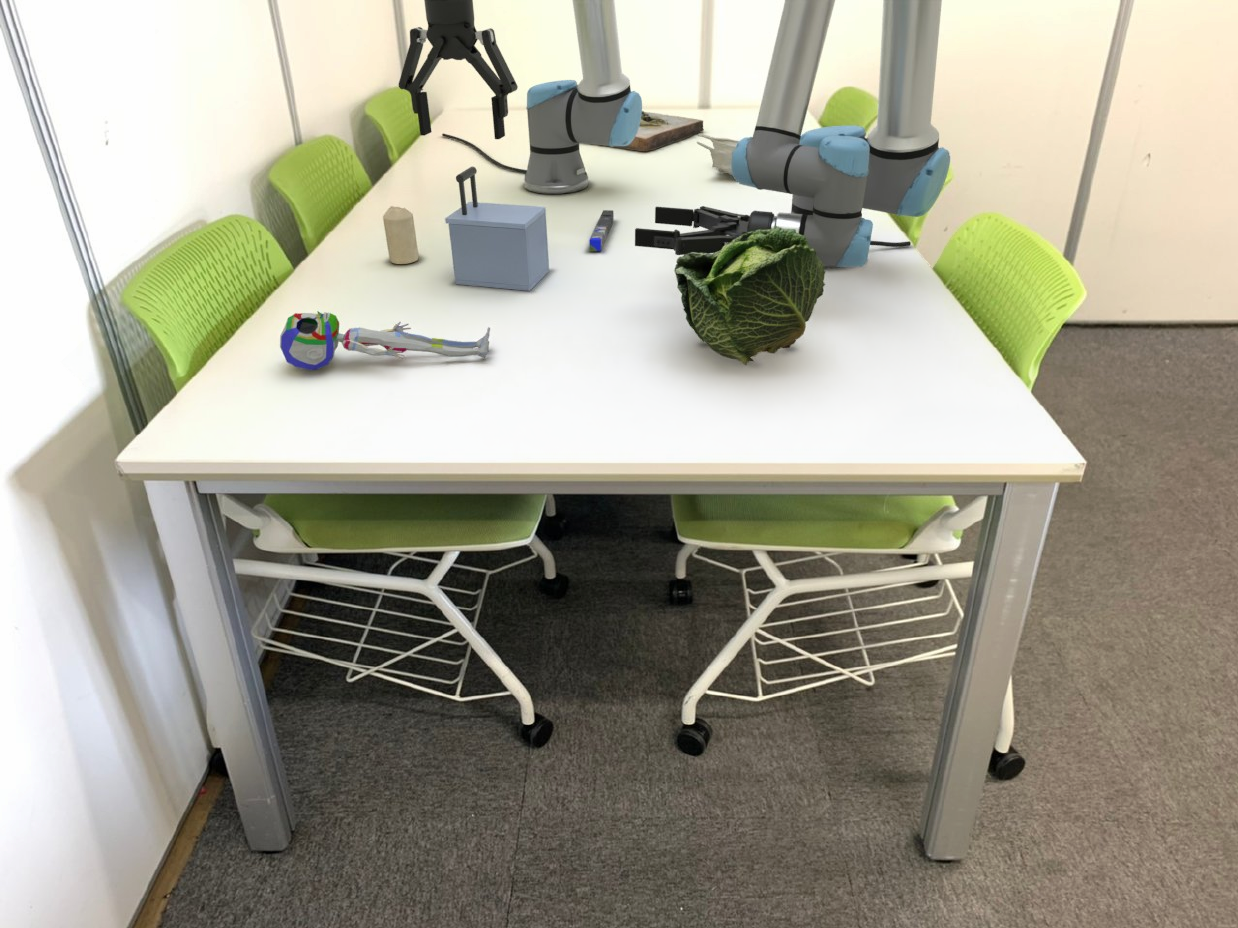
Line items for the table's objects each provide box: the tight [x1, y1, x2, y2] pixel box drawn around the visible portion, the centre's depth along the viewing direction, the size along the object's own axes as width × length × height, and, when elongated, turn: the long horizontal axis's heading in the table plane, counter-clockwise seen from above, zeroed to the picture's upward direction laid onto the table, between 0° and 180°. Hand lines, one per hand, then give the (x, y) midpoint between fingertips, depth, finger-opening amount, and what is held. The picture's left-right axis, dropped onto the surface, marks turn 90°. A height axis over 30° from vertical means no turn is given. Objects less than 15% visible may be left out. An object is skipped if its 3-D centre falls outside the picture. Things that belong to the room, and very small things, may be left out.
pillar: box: [588, 209, 615, 252], centre depth 182 cm, size 2×2×20 cm
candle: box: [382, 205, 420, 265], centre depth 169 cm, size 6×6×10 cm
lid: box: [444, 166, 547, 229], centre depth 156 cm, size 15×10×8 cm
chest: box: [448, 212, 550, 292], centre depth 161 cm, size 14×10×11 cm
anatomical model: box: [696, 133, 740, 177], centre depth 219 cm, size 15×9×25 cm
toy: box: [279, 311, 491, 371], centre depth 133 cm, size 10×8×30 cm
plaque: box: [612, 110, 705, 152], centre depth 257 cm, size 30×7×30 cm
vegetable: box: [673, 226, 826, 366], centre depth 131 cm, size 20×19×20 cm
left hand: (462, 136), depth 152 cm, fingers open, 13 cm apart
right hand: (645, 225), depth 150 cm, fingers open, 13 cm apart
